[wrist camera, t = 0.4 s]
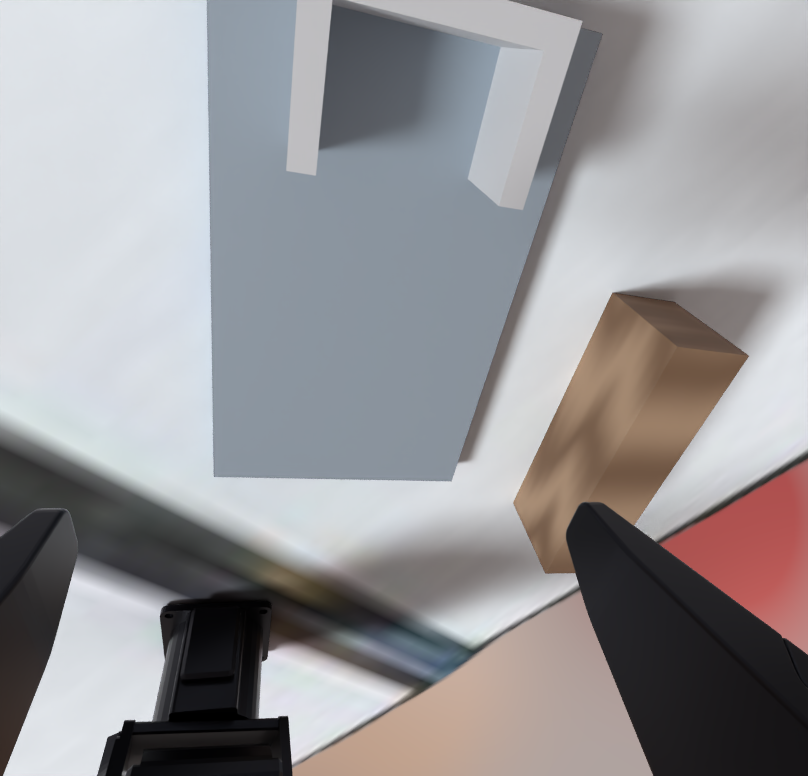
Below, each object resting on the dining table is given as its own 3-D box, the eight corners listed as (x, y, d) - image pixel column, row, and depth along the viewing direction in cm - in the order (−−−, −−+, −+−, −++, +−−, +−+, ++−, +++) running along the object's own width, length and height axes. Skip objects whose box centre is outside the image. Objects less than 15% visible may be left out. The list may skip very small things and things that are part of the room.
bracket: (446, 468, 28) (469, 533, 24) (216, 462, 25) (202, 535, 21) (588, 33, 17) (666, 34, 13) (210, -70, 14) (180, -104, 10)
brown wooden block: (563, 504, 32) (601, 572, 28) (513, 502, 31) (545, 573, 27) (674, 302, 24) (749, 355, 20) (612, 292, 23) (677, 346, 19)
